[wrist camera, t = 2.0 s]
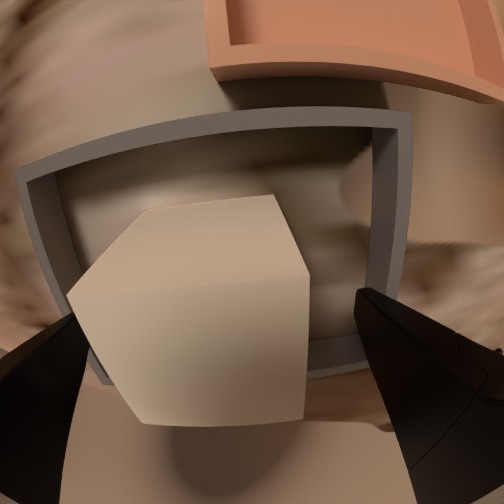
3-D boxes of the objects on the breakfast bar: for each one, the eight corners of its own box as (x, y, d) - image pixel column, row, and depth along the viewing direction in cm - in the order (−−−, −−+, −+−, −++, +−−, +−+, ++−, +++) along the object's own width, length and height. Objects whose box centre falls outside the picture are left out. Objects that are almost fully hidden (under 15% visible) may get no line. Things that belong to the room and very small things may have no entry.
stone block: (273, 194, 10) (309, 275, 5) (280, 304, 12) (303, 419, 7) (145, 210, 10) (66, 295, 5) (172, 313, 12) (141, 423, 7)
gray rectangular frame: (384, 112, 9) (411, 112, 7) (366, 339, 14) (379, 365, 12) (42, 161, 9) (14, 170, 7) (113, 359, 14) (102, 384, 12)
